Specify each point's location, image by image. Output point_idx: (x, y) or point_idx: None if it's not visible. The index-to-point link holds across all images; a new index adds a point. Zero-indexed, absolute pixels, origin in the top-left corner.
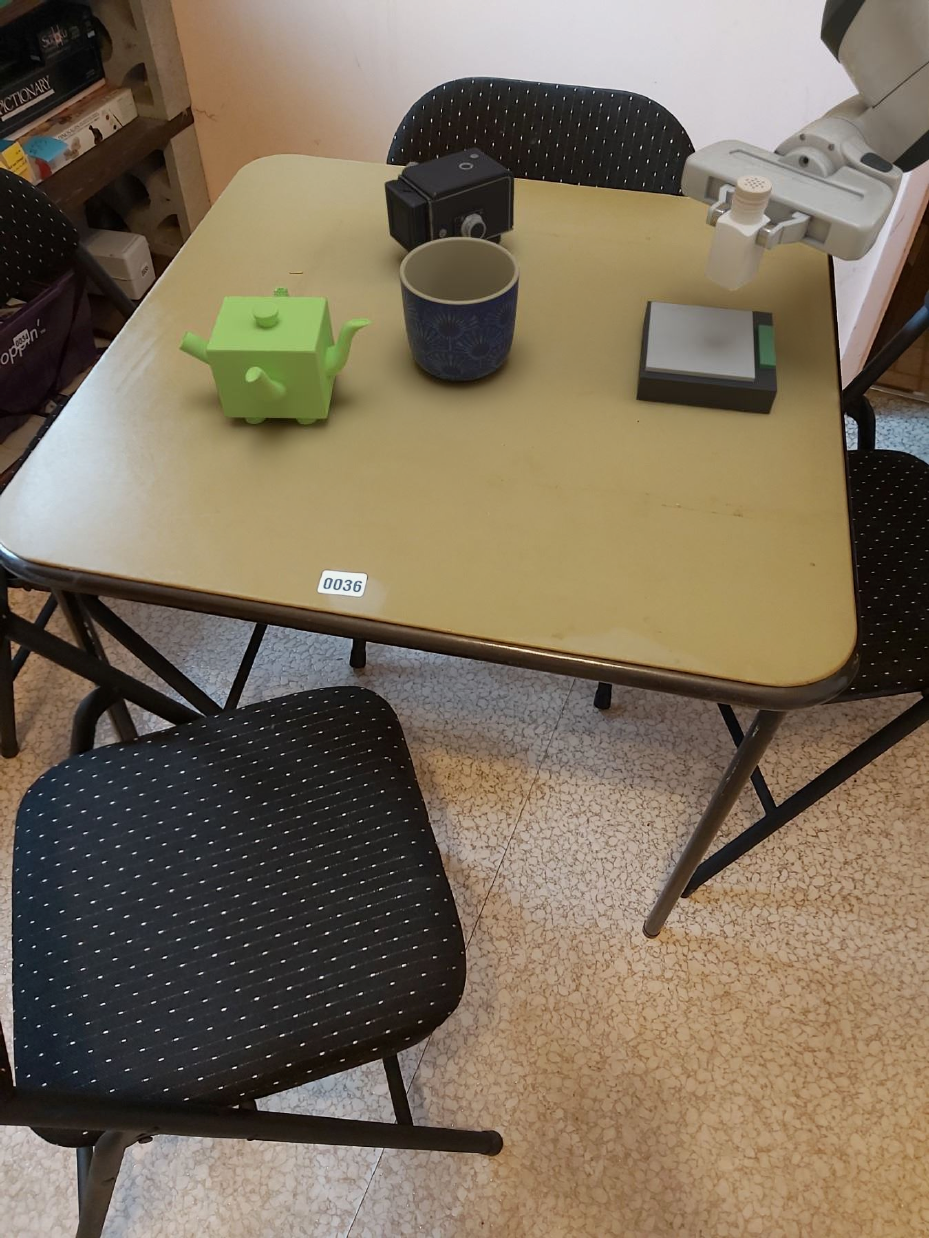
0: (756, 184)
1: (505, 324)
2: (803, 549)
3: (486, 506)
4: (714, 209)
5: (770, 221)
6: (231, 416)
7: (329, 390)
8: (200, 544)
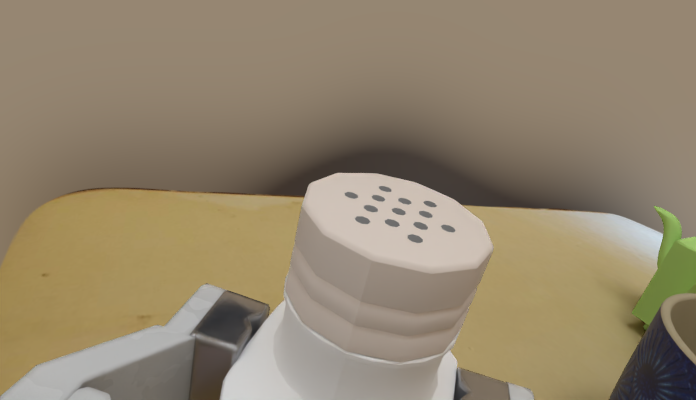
0: (386, 205)
1: (638, 392)
2: (52, 289)
3: None
4: (506, 384)
5: (234, 344)
6: None
7: None
8: (554, 227)
